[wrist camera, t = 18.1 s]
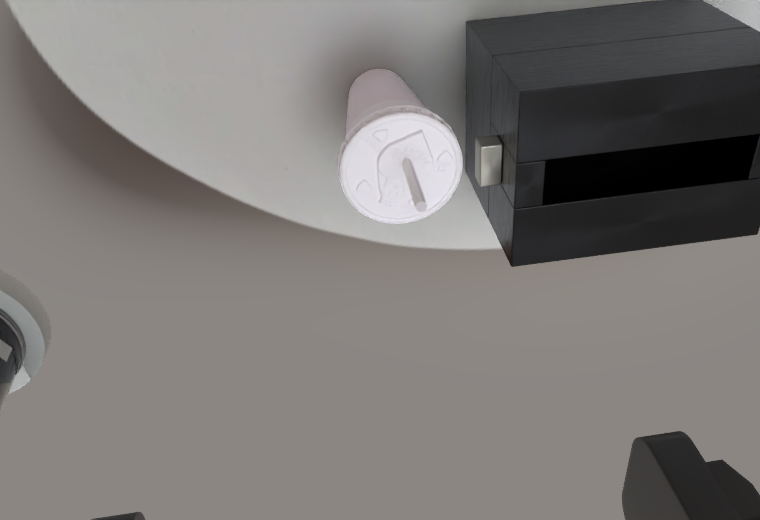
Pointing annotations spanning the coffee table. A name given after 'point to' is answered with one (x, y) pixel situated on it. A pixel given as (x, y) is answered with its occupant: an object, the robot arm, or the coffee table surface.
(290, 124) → the coffee table surface
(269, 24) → the coffee table surface
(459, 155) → the smoothie
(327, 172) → the coffee table surface
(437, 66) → the coffee table surface
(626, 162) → the toaster
